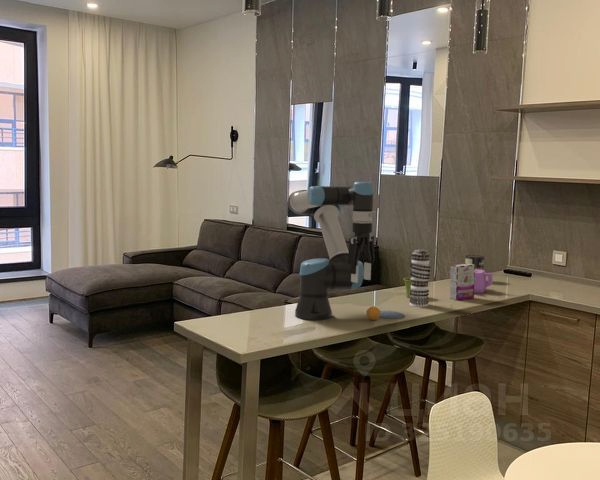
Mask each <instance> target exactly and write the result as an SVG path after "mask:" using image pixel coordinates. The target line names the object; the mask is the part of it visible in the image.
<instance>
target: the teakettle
mask: <svg viewBox="0 0 600 480" xmlns="http://www.w3.org/2000/svg"><path fill="white" fill-rule="evenodd" d="M448 273H449V275H450V276H451V270H450V271H448ZM493 284H494V282H493V273H491V272H490V273H489V272H486V270H484V269H483V270H475V279H474V294H480V295H481V294H483V293H485V291H486V290H487V288H488V287H490V286H492V285H493Z"/></svg>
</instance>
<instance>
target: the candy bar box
mask: <svg viewBox="0 0 600 480" xmlns="http://www.w3.org/2000/svg"><path fill="white" fill-rule="evenodd" d="M450 271H451V275H450V282H449V283H450V289H449V290H450V292H449V293H450V294H449V296H450V297H449V299H451V300H453V299H454V301H462V300H463V301H464V300H469V299H470V300H471V299H472V300H473V299H475V293H474V279H475V265H473V264H465V263H460V264H459V263H458V264H452V265H451V264H450Z"/></svg>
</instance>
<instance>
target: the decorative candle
mask: <svg viewBox="0 0 600 480" xmlns="http://www.w3.org/2000/svg"><path fill="white" fill-rule="evenodd" d="M430 255H431V253H429V251H428V250H427V249H423V248H422V249H421V248H420V249H419V248H418V249H417V248H416V249H414V250H413V252H411V261H409V264H410V265H409V268H410V270H409V271H410V273H409V275H410V277H409V278H410V279H411V289H410V291H411V292H410V295H411V296H410V298H409V300H408V301H409V302H410V303H409V306H410V307H411V306H412V307H419V308H422V307H423V308H425V307H428V306H429V303H430V302H429V299H430V297H429V295H430V294H429V292H430V290H429V281H430V279H431V278H430V276H431V274H430V272H431V267H432V266H430Z"/></svg>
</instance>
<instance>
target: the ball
mask: <svg viewBox="0 0 600 480" xmlns="http://www.w3.org/2000/svg"><path fill="white" fill-rule="evenodd" d="M366 316H367V318H368V319H369V320H371V321H376V320H378V319H379V318H380V309H379V307H377V306H370V307H368V308H367V309H366Z"/></svg>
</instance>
